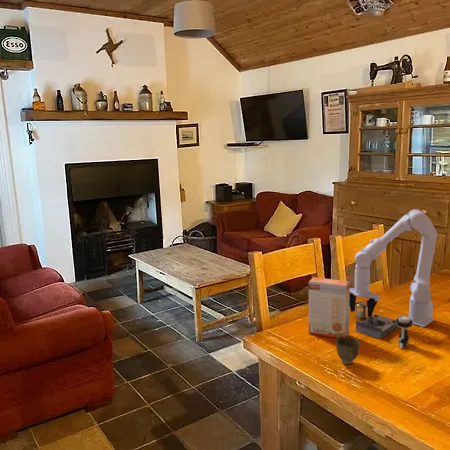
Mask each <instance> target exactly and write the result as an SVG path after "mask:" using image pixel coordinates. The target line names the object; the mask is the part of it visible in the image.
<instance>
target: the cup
mask: <svg viewBox="0 0 450 450" xmlns="http://www.w3.org/2000/svg"><path fill="white" fill-rule="evenodd" d="M360 343H361V342H360V340H359V339H358V338H357V337H356V338H355V337H353V336H352V337H351V336H350V335H348V336H345V338H344V337H343V336H340V338H339V337H338V338H336V339H335V344H336V352H337V355H338V357H339V358H340V361H341V363H342V364H343V365H345V366H351V365H352V364H353V363H354V361H355V360H356V359H357V357H358V355H359V348H360Z"/></svg>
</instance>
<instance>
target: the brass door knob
mask: <svg viewBox="0 0 450 450" xmlns="http://www.w3.org/2000/svg"><path fill="white" fill-rule="evenodd" d="M367 313H368V308H367V303H366V302H364V301H357V302H356V303H355V318H356V319H357V320H359V321H364V320H366V319H367Z"/></svg>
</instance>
